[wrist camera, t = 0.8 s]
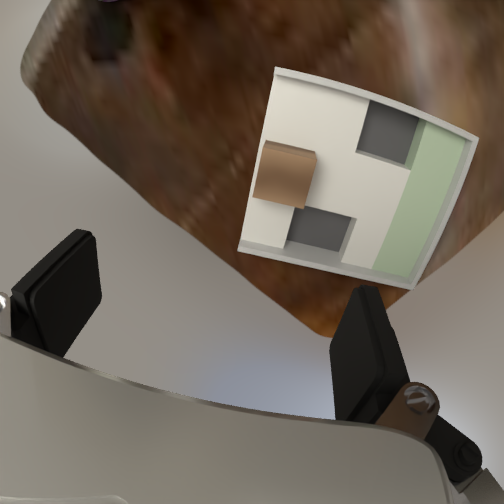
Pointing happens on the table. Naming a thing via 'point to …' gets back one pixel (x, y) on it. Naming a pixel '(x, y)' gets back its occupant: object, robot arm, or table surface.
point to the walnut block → (284, 174)
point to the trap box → (358, 181)
